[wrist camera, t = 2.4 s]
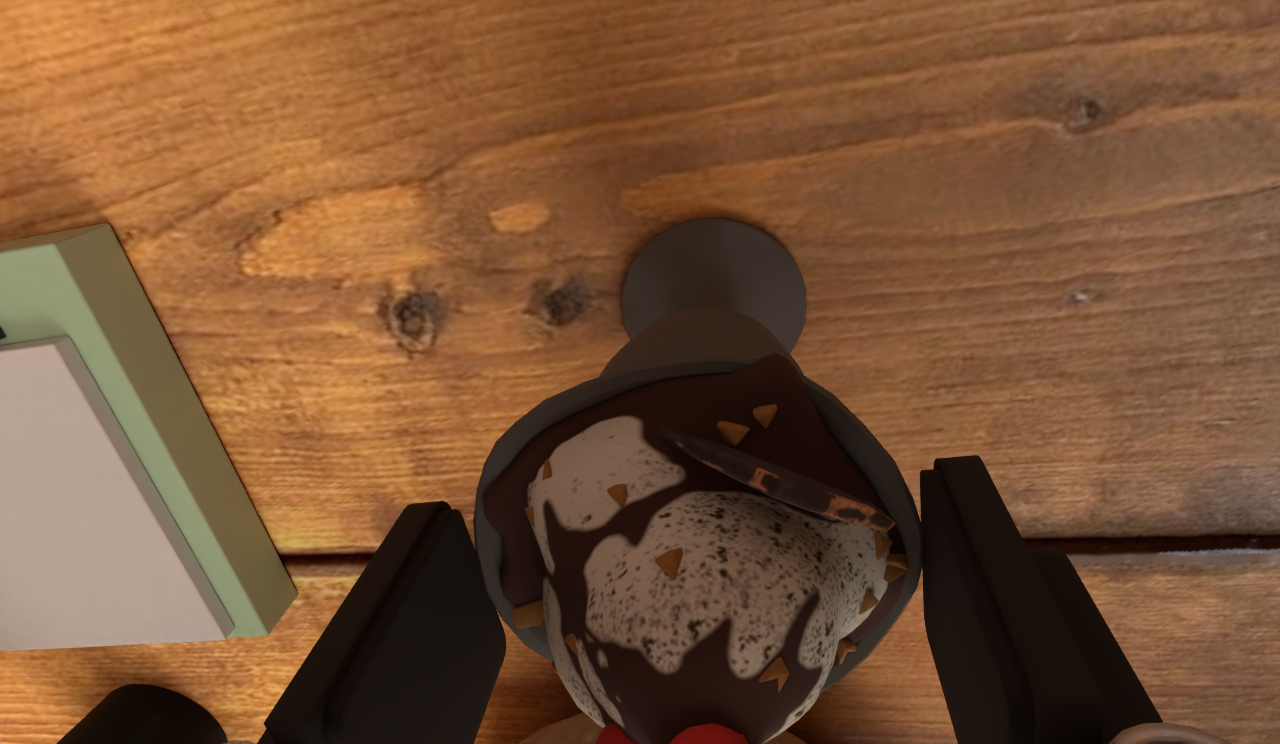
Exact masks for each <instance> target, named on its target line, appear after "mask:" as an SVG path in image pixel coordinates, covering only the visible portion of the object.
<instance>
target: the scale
mask: <svg viewBox="0 0 1280 744" xmlns="http://www.w3.org/2000/svg"><path fill="white" fill-rule="evenodd" d="M297 595H298V593H297V591H296V589H295V587H294V586H293V584H292V582H291V580H290V578H289V576H288V574H287V572H286V570H285V568H284V566H283V564H282V562H281V560H280V558H279V556H278V554H277V552H276V550H275V548H274V546H273V544H272V542H271V540H270V538H269V536H268V534H267V532H266V530H265V529H264V527H263V525H262V523H261V521H260V519H259V517H258V515H257V513H256V511H255V509H254V507H253V505H252V503H251V501H250V499H249V497H248V495H247V493H246V491H245V489H244V487H243V485H242V483H241V481H240V479H239V477H238V475H237V473H236V472H235V470H234V468H233V466H232V464H231V462H230V460H229V458H228V456H227V454H226V452H225V450H224V448H223V446H222V444H221V442H220V440H219V438H218V436H217V434H216V432H215V430H214V428H213V426H212V424H211V422H210V420H209V418H208V416H207V415H206V413H205V411H204V409H203V407H202V405H201V403H200V401H199V399H198V397H197V395H196V393H195V391H194V389H193V387H192V385H191V383H190V381H189V379H188V377H187V375H186V373H185V371H184V369H183V367H182V365H181V363H180V361H179V360H178V358H177V356H176V354H175V352H174V350H173V348H172V346H171V344H170V342H169V340H168V338H167V336H166V334H165V332H164V330H163V328H162V326H161V324H160V322H159V320H158V318H157V316H156V314H155V312H154V310H153V308H152V306H151V304H150V303H149V301H148V299H147V297H146V295H145V293H144V291H143V289H142V287H141V285H140V283H139V281H138V279H137V277H136V275H135V273H134V271H133V269H132V267H131V265H130V263H129V261H128V259H127V257H126V255H125V253H124V251H123V249H122V247H121V246H120V244H119V242H118V240H117V238H116V236H115V234H114V232H113V230H112V228H111V226H110V225H109V224H107V223H103V224H98V225H92V226H87V227H81V228H76V229H70V230H65V231H59V232H54V233H48V234H43V235H37V236H32V237H26V238H21V239H15V240H10V241H4V242H0V651H19V650H39V649H59V648H79V647H100V646H120V645H140V644H160V643H180V642H200V641H220V640H226V639H227V638H233V637H253V636H267V635H269V634H270V632H271V631H272V629H273V628H274V627H275V625H276V624H277V623H278V621H279V620H280V619H281V617H282V616H283V615H284V613H285V612H286V611H287V609H288V608H289V606H290V605H291V604H292V602H293V601H294V600H295V598H296V597H297Z"/></svg>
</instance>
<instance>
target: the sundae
mask: <svg viewBox="0 0 1280 744" xmlns="http://www.w3.org/2000/svg"><path fill="white" fill-rule="evenodd" d="M621 297H622V315H623V322H624V327H625V329H626V332H627V334H628V336H629V338H630V341H629V342H628V343H627V344H626V345H625V346H624V347H623V348H622V349H621V350H620V351H619V352H618V353H617V354H616V355H615V356H614V357H613V358H612V359H611V360H610V361H609V363H608V364H607V366H606V367H605V368H604V370H603V371H602V373H601V374H600V376H599V377H598V378H595V379H592V380H589V381H586V382H584V383H582V384H579V385H577V386H575V387H573V388H570V389H568V390H566V391H564V392H561V393H559V394H557V395H555V396H552V397H550V398H548V399H546V400H544V401H543V402H542V403H540V404H539V405H538V406H536V407H535V408H534V409H532V410H531V411H530V412H528V413H527V414H526V415H524V416H523V417H522V418H520V419H519V420H518V421H516V422H515V423H514V424H513V425H512V426H511V427H510V428H509V429H508V430H507V431H506V432H505V433H504V434H503V435H502V436H501V437H500V438H499V439H498V440H497V441H496V443H495V445H494V447H493V449H492V450H491V452H490V454H489V456H488V458H487V460H486V462H485V464H484V467H483V470H482V474H481V477H480V481H479V484H478V488H477V493H476V502H475V511H474V519H473V524H474V534H475V545H476V554H477V558H478V561H479V564H480V568H481V572H482V575H483V579H484V583H485V587H486V591H487V593H488V595H489V597H490V599H491V600H492V602H493V604H494V605H495V607H496V609H497V610H498V612H499V614H500V616H501V617H502V619H503V620H504V622H505V623H506V624H507V625H508V626H509V627H510V628H511V629H512V631H513V632H514V633H515V634H516V635H517V636H518V637H519V639H520V640H521V641H522V642H523V643H524V644H525V645H526V646H527V647H529V648H531V649H532V650H534V651H535V652H537V653H538V654H540V655H542V656H543V657H545V658H546V659H548V660H550V661H551V662H552V667H553V669H554V671H555V672H556V673H557V674H558V675H559V676H560V678H561V680H562V682H563V684H564V686H565V687H566V689H567V691H568V692H569V694H570V695H571V697H572V699H573V700H574V702H575V703H576V705H577V707H579V708H580V709H581V710H582V711H583V712H585V713H586V714H587V715H588V716H589V717H590V718H591V719H593V720H594V721H595V722H596V723H597V724H598V725H599V726H601V727H602V728H603V729H602V731H601V732H600V734H599V736H598V738H597V741H596V743H595V744H763V743H765V742H767V741H768V740H770V739H772V738H774V737H776V736H777V735H779V734H780V733H782V732H783V731H784V730H786V729H787V728H788V727H790V726H791V725H792V724H794V723H795V722H796V721H798V720H799V719H800V718H801V717H802V716H803V715H804V714H805V713H806V712H807V711H808V710H809V709H810V708H811V707H812V706H813V704H814V703H815V701H816V700H817V698H818V696H819V694H820V693H822V692H823V691H825V690H826V689H828V688H830V687H831V686H833V685H834V684H836V683H837V682H839V681H840V680H842V679H843V678H844V677H845V676H847V675H848V674H849V673H850V672H851V671H852V670H854V669H855V668H856V667H857V666H858V665H859V664H860V663H862V662H863V661H864V660H865V659H866V658H867V657H868V656H869V655H870V654H871V653H872V651H873V650H874V649H875V648H876V646H877V645H878V644H879V643H880V642H881V640H882V639H883V638H884V637H885V635H886V634H887V633H888V632H889V630H890V629H891V627H892V626H893V625H894V623H895V622H896V620H897V619H898V618H899V616H900V615H901V613H902V612H903V611H904V609H905V607H906V606H907V604H908V602H909V601H910V599H911V597H912V595H913V594H914V592H915V590H916V589H917V586H918V582H919V578H920V574H921V570H922V566H923V565H922V542H923V532H922V525H921V522H920V518H919V515H918V512H917V509H916V506H915V503H914V500H913V497H912V495H911V493H910V491H909V489H908V487H907V485H906V483H905V481H904V479H903V477H902V475H901V473H900V471H899V469H898V467H897V465H896V463H895V461H894V460H893V458H892V457H891V456H890V455H889V454H888V452H887V451H886V450H885V449H884V448H883V446H882V445H881V444H880V443H879V442H878V440H877V439H876V438H875V437H874V436H873V434H872V433H871V432H870V431H869V430H868V429H867V427H866V426H865V425H864V424H863V423H862V422H861V421H860V420H859V419H858V418H857V417H856V416H855V415H854V414H853V413H852V412H851V411H850V410H849V409H848V408H847V407H846V406H845V405H844V404H843V403H842V402H841V401H840V400H839V399H837V398H836V397H835V396H834V395H833V394H832V393H830V392H829V391H827V390H826V389H824V388H823V387H821V386H820V385H818V384H816V383H815V382H813V381H812V380H810V379H809V378H807V377H806V376H804V374H803V373H802V371H801V369H800V367H799V366H798V364H797V363H796V362H795V360H794V359H793V358H792V356H791V355H790V353H791V351H792V349H793V348H794V346H795V344H796V342H797V341H798V339H799V336H800V334H801V331H802V329H803V327H804V324H805V315H806V289H805V286H804V283H803V280H802V277H801V274H800V272H799V270H798V268H797V266H796V264H795V262H794V260H793V258H792V256H791V255H790V254H789V253H788V252H787V251H786V250H785V249H784V248H783V247H782V246H781V245H780V244H779V243H778V242H777V241H776V240H775V239H773V238H772V237H771V236H770V235H768V234H767V233H766V232H765V231H762V230H760V229H758V228H755V227H753V226H751V225H749V224H746V223H742V222H739V221H736V220H732V219H725V218H706V219H696V220H690V221H687V222H684V223H682V224H679V225H676V226H674V227H672V228H670V229H668V230H666V231H664V232H662V233H660V234H658V235H657V236H656V237H655V238H654V239H652V240H651V241H650V242H649V243H648V244H647V245H646V246H645V247H644V248H643V249H642V251H641V252H640V253H639V254H638V255H637V257H636V258H635V259H634V260H633V262H632V264H631V266H630V269H629V271H628V273H627V276H626V279H625V282H624V286H623V290H622V293H621Z"/></svg>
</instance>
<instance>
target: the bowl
mask: <svg viewBox="0 0 1280 744" xmlns="http://www.w3.org/2000/svg"><path fill="white" fill-rule="evenodd" d="M602 729H603V728H602V727H601V726H599V725H598V724H597V723H596V722H595V721H594V720H593V719H591V718H590V717H589V716H588V715H587V714H586V713H585V712H583V713H581V714H578V715H575V716H573V717H570V718H567V719H564V720H561V721H559V722H557V723H554V724H551V725H548V726H546V727H544V728H542V729H540V730H539V731H537V732H535V733H534V734H532V735H531V736H529V737H528V738H526V739H525V740H523V741H522V742H520V743H519V744H595V743H596V741H597V738H598V736H599V734H600V732H601V731H602ZM763 744H808V743H806V742H804V741H803V740H801V739H799V738H798V737H796V736H794V735H793V734H791V733H789V732H788V731H786V730H784V731H783V732H782V733H780V734H779V735H777V736H776V737H774V738H772V739H770V740H768V741H767V742H765V743H763Z"/></svg>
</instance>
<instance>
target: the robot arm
mask: <svg viewBox="0 0 1280 744" xmlns="http://www.w3.org/2000/svg"><path fill="white" fill-rule="evenodd" d="M920 497H921V525H922V532H923V542H922V565H923V598H924V619H925V626H926V632H927V637H928V641H929V644H930V648H931V651H932V655H933V658H934V662H935V665H936V669H937V672H938V676H939V679H940V683H941V686H942V690H943V693H944V696H945V700H946V703H947V707H948V710H949V714H950V717H951V721H952V724H953V728H954V731H955V735H956V738H957V742H958V744H1230V743H1229V742H1227V741H1226V740H1224V739H1222V738H1219V737H1217V736H1214V735H1211V734H1209V733H1206V732H1204V731H1201V730H1199V729H1196V728H1193V727H1187V726H1182V725H1177V724H1171V723H1163V721H1162V719H1161V717H1160V716H1159V714H1158V712H1157V710H1156V709H1155V707H1154V705H1153V703H1152V702H1151V700H1150V698H1149V697H1148V695H1147V693H1146V691H1145V690H1144V688H1143V686H1142V684H1141V683H1140V681H1139V679H1138V678H1137V676H1136V674H1135V672H1134V671H1133V669H1132V667H1131V665H1130V664H1129V662H1128V660H1127V659H1126V657H1125V655H1124V653H1123V652H1122V650H1121V648H1120V646H1119V645H1118V643H1117V641H1116V640H1115V638H1114V636H1113V634H1112V633H1111V631H1110V629H1109V627H1108V626H1107V624H1106V622H1105V621H1104V619H1103V617H1102V615H1101V614H1100V612H1099V610H1098V608H1097V607H1096V605H1095V603H1094V601H1093V600H1092V598H1091V596H1090V595H1089V593H1088V591H1087V589H1086V588H1085V586H1084V584H1083V582H1082V581H1081V579H1080V577H1079V576H1078V574H1077V572H1076V570H1075V569H1074V567H1073V565H1072V563H1071V562H1070V560H1069V559H1068V557H1067V556H1066V554H1065V553H1064V552H1063V551H1062V550H1060V549H1059V548H1043V549H1027V547H1026V545H1025V543H1024V541H1023V539H1022V537H1021V535H1020V533H1019V532H1018V530H1017V528H1016V526H1015V524H1014V522H1013V520H1012V518H1011V516H1010V514H1009V512H1008V510H1007V508H1006V506H1005V504H1004V502H1003V500H1002V498H1001V497H1000V495H999V493H998V491H997V489H996V487H995V485H994V483H993V481H992V479H991V477H990V475H989V473H988V471H987V469H986V467H985V465H984V463H983V461H982V460H981V458H980V457H979V456H977V455H974V456H962V457H951V458H939V459H935V461H934V469H933V470H921V472H920ZM505 652H506V637H505V633H504V630H503V627H502V624H501V621H500V619H499V616H498V613H497V610H496V608H495V605H494V604H493V602H492V600H491V599H490V597H489V595H488V593H487V591H486V587H485V583H484V579H483V575H482V572H481V568H480V564H479V561H478V558H477V555H476V552H475V549H474V547H473V544H472V541H471V538H470V536H469V533H468V530H467V527H466V524H465V522H464V519H463V516H462V514H461V513H460V512H459V510H456V509H451V507H450V505H449V504H448V503H447V502H444V501H438V502H426V503H415V504H410V505H407V507H406V508H405V509H404V510H403V512H402V513H401V515H400V516H399V518H398V519H397V521H396V522H395V524H394V525H393V527H392V528H391V530H390V531H389V533H388V534H387V536H386V537H385V539H384V541H383V542H382V544H381V545H380V547H379V548H378V550H377V551H376V553H375V554H374V556H373V557H372V559H371V560H370V562H369V563H368V565H367V566H366V568H365V569H364V571H363V573H362V574H361V576H360V577H359V579H358V580H357V582H356V583H355V585H354V586H353V588H352V589H351V591H350V592H349V594H348V595H347V597H346V598H345V600H344V602H343V603H342V605H341V606H340V608H339V609H338V611H337V612H336V614H335V615H334V617H333V618H332V620H331V621H330V623H329V624H328V626H327V627H326V629H325V631H324V632H323V634H322V635H321V637H320V638H319V640H318V641H317V643H316V644H315V646H314V647H313V649H312V650H311V652H310V653H309V655H308V656H307V658H306V659H305V661H304V663H303V664H302V666H301V667H300V669H299V670H298V672H297V673H296V675H295V676H294V678H293V679H292V681H291V682H290V684H289V685H288V687H287V688H286V690H285V692H284V693H283V695H282V696H281V698H280V699H279V701H278V702H277V704H276V705H275V707H274V708H273V710H272V711H271V713H270V714H269V716H268V717H267V719H266V721H265V722H264V725H265V726H266V728H267V729H266V731H265V732H264V734H263V735H262V737H261V738H260V740H259V741H258V743H257V744H474V741H475V739H476V736H477V733H478V730H479V727H480V725H481V722H482V719H483V716H484V713H485V711H486V708H487V705H488V702H489V699H490V697H491V694H492V691H493V688H494V685H495V683H496V680H497V677H498V674H499V671H500V669H501V666H502V663H503V660H504V657H505ZM223 744H254V743H252V742H250V741H231V742H227V743H223Z"/></svg>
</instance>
